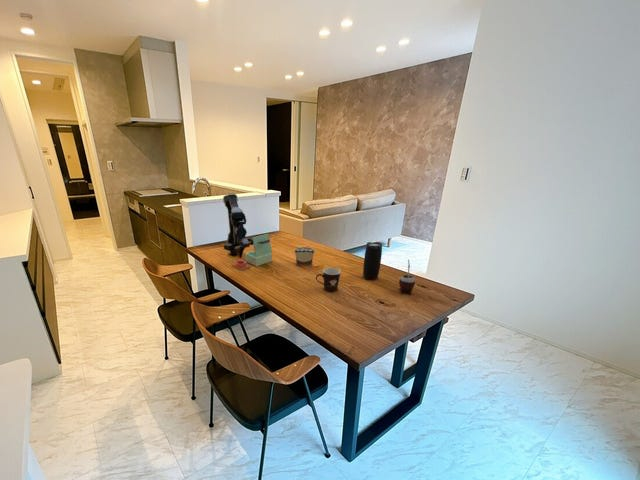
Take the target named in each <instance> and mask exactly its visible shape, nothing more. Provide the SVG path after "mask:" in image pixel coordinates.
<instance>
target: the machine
mask: <svg viewBox="0 0 640 480" xmlns="http://www.w3.org/2000/svg"><path fill="white" fill-rule="evenodd" d="M244 259H245V261H246V263H249V264H251V265H253V266H256V267H258V266H261V265H264V264H267V263H270V262H273V252H272V253H270V254H266V255H263V256H260V257H256V255H255V250H252V251H250V252H246V253H245V255H244Z"/></svg>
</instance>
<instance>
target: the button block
mask: <svg viewBox="0 0 640 480" xmlns="http://www.w3.org/2000/svg"><path fill="white" fill-rule="evenodd" d="M232 267H234V268H236V269H238V270H240V271H244V270H248V269H251V268H250V267H251V266H250V265H248V264H247V262H246V260H244V263H241V264H239V263H238V260H237V261H235V262H234V263H232Z"/></svg>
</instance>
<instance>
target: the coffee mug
mask: <svg viewBox="0 0 640 480" xmlns="http://www.w3.org/2000/svg"><path fill="white" fill-rule="evenodd" d="M341 271H342V270H340V269H339V268H335V267H327V268H324V269H323V270H322V273H319V274H317V275H316V276H315V280H316V282H318V283H319V284H321V285H323V289H324V291H326V292H327V293H335V292H337V291H338V287H339V282H340V278H341ZM319 276H320V277H322V278H323V282H321V281H320V280H318V277H319Z"/></svg>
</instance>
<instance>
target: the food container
mask: <svg viewBox="0 0 640 480" xmlns="http://www.w3.org/2000/svg"><path fill="white" fill-rule="evenodd" d="M293 254H295V263H296V266H311V267H312V266H313V259H314V254H315V249H314V248H312V247H308V246H300V247H296V248H294V253H293Z"/></svg>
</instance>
